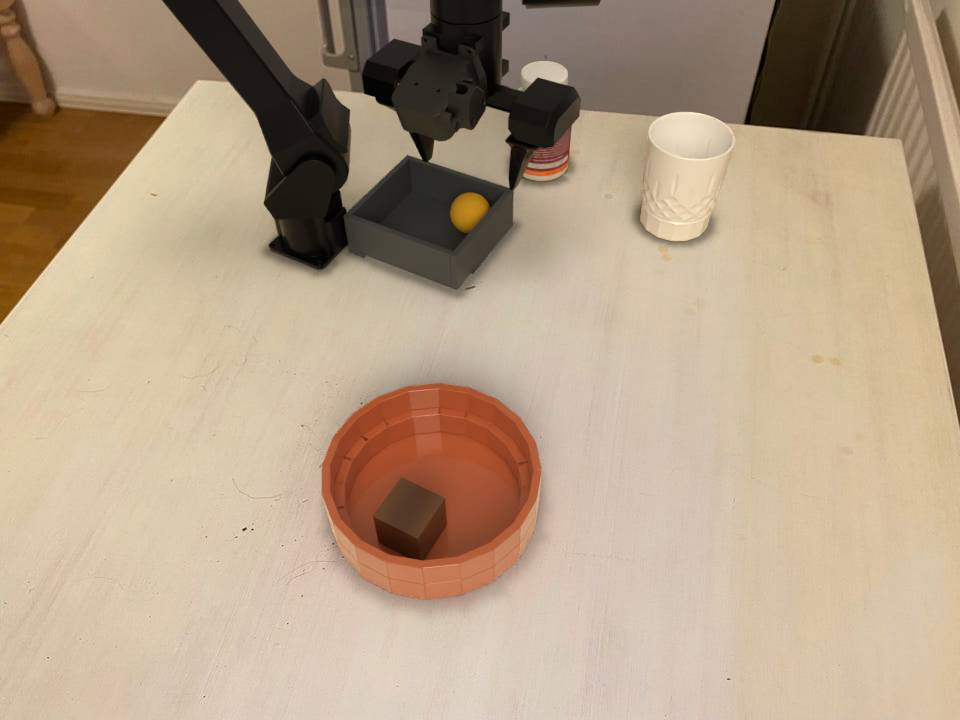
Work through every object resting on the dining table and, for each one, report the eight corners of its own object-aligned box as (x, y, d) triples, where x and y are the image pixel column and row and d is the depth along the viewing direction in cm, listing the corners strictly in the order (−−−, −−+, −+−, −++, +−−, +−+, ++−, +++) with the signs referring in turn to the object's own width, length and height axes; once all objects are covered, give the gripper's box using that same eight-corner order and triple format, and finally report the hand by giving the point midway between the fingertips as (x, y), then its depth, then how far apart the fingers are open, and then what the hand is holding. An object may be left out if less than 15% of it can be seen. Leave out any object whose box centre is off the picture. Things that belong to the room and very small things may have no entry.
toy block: (378, 542, 58) (372, 516, 55) (405, 503, 60) (401, 476, 57) (421, 564, 57) (417, 538, 54) (447, 524, 59) (445, 497, 56)
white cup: (712, 250, 79) (735, 164, 71) (630, 240, 80) (645, 154, 73) (713, 201, 84) (735, 115, 77) (636, 192, 85) (651, 107, 78)
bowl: (289, 541, 58) (276, 504, 55) (403, 397, 67) (398, 356, 63) (474, 641, 53) (473, 608, 50) (571, 471, 62) (576, 432, 58)
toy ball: (444, 235, 80) (440, 202, 77) (463, 212, 82) (461, 179, 79) (479, 246, 79) (477, 214, 76) (498, 223, 81) (497, 190, 78)
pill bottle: (580, 166, 88) (589, 72, 80) (541, 190, 86) (547, 96, 77) (538, 143, 91) (543, 50, 83) (499, 166, 88) (500, 72, 80)
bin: (349, 252, 79) (342, 215, 76) (410, 190, 86) (407, 154, 82) (457, 293, 75) (455, 256, 72) (512, 225, 82) (513, 189, 78)
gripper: (308, 25, 62) (337, 191, 74) (526, 84, 56) (519, 255, 68) (388, -31, 69) (403, 130, 80) (591, 18, 63) (575, 184, 74)
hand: (470, 173), depth 76 cm, fingers open, 9 cm apart
